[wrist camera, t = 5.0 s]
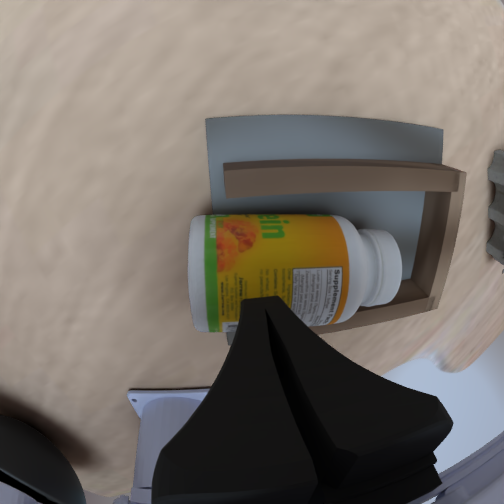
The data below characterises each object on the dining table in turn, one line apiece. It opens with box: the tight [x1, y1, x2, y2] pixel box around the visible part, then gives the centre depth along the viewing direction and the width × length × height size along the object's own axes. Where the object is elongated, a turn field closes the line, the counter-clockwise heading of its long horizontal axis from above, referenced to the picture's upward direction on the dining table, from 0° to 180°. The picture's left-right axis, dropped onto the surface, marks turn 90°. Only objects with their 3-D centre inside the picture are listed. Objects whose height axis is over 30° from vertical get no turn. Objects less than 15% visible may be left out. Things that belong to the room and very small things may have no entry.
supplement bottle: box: [188, 214, 402, 332], centre depth 14 cm, size 5×5×10 cm
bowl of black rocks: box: [0, 415, 86, 504], centre depth 16 cm, size 20×20×19 cm
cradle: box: [205, 115, 466, 345], centre depth 16 cm, size 14×14×3 cm
